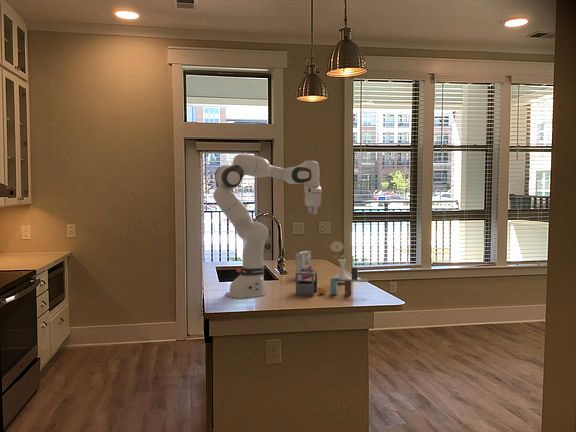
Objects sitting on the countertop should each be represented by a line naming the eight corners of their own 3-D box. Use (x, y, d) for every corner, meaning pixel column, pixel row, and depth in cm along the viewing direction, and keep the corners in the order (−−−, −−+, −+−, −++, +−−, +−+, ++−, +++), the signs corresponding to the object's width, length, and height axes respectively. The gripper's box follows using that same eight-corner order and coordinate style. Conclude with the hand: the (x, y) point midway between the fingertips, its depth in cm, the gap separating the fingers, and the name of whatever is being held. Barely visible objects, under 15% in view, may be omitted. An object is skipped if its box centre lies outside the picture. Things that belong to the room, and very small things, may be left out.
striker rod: (368, 292, 265) (368, 266, 264) (367, 295, 259) (367, 268, 258) (331, 291, 269) (331, 265, 268) (330, 294, 263) (330, 267, 263)
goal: (317, 291, 274) (317, 269, 273) (313, 296, 262) (313, 273, 262) (300, 291, 276) (299, 269, 275) (295, 295, 264) (295, 273, 264)
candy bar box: (305, 275, 323) (305, 250, 322) (311, 276, 320) (311, 251, 319) (295, 278, 314) (294, 252, 313) (301, 279, 311) (301, 253, 310)
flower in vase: (353, 281, 302) (353, 240, 301) (350, 285, 291) (350, 242, 290) (332, 280, 306) (331, 239, 304) (328, 284, 295) (328, 241, 293)
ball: (321, 295, 265) (321, 287, 264) (316, 294, 268) (316, 286, 268) (327, 294, 267) (327, 286, 267) (322, 293, 270) (322, 285, 270)
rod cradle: (351, 294, 267) (351, 278, 266) (350, 296, 262) (350, 280, 261) (345, 293, 267) (345, 278, 267) (344, 295, 262) (344, 280, 262)
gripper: (301, 189, 289) (302, 213, 290) (311, 189, 270) (312, 215, 270) (312, 189, 291) (312, 212, 292) (323, 189, 271) (323, 214, 272)
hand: (312, 214), depth 281 cm, fingers open, 8 cm apart
